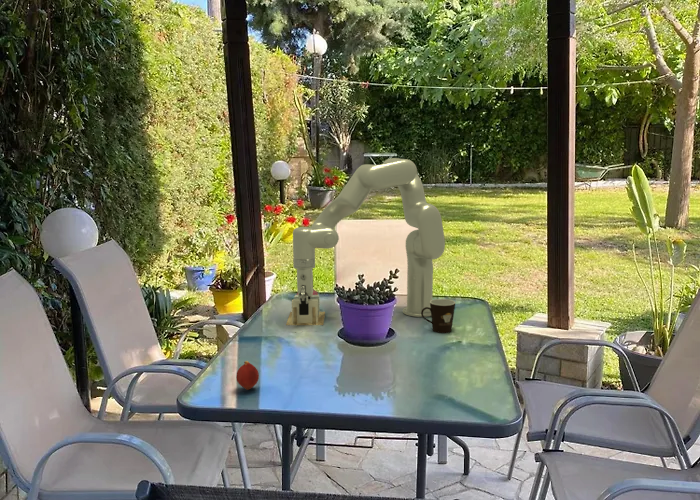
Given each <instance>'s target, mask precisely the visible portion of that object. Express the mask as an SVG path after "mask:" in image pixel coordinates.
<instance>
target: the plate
mask: <svg viewBox="0 0 700 500" xmlns="http://www.w3.org/2000/svg"><path fill="white" fill-rule="evenodd" d="M293 299H300V297H299V296H298V295H296V294H294V297H293ZM310 299H318V315H319V314H320V312H321V310H320V308H321V307H320V306H321V305H320V304H321V303H320V294H318V295H312V297H310Z"/></svg>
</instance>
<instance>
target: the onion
mask: <svg viewBox="0 0 700 500" xmlns="http://www.w3.org/2000/svg"><path fill="white" fill-rule="evenodd" d="M243 363H244V364H242V365H241V366H240V367H239V368H238V370H237V371H236V381H237V383H238V385H239V386H240V387H242V388H244V389H245V390H246V391H247V390H248V391H250V390H251V389H252V388H254V387H255V386H256V385H257V383H258V381H259V377H260V376H259V370H258V368H257V367H256V366H254V365H253V364H252V363H251V362H249V361H248V360H244V362H243Z"/></svg>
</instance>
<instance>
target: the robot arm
mask: <svg viewBox="0 0 700 500" xmlns="http://www.w3.org/2000/svg"><path fill="white" fill-rule="evenodd" d="M395 187H397V188H398V190H399V193H400V198H401V201H402V209H403V215H404V219H405V220H404V221H405V222H406V224H407V225H409V227H412V228H415V229H414V230H412V231H410V232H409V233H408V235H407V236H406V239H405V252H406V259H407V260H406V261H407V270H406V271H407V272H406V273H407V278H406V279H407V281H406V285H407V286H406V306H405V307H404V308H403V309H402V313H403V314H404V315H406V316H410V317H414V318H415V317H416V318H417V317H418V318H423V317H422V315H421V311H422V309H423V308H425V307H429V308H431V307H430V301H431V300H433V290H434V289H433V287H434V286H433V282H434V281H433V278H434V263H433V260H437V259H439V258H440V257H442V255H443V254H444V251H445V250H446V249H445V248H446V241H445V232H444V226H443V225H444V224H443V220H442V215H441V213H440V210H439V209H438V208H437V207H436V206H435V205H434V204H432V203H427V198H426V194H425V190H424V186H423V182H422V180H421V178H420V176H419V175H418V168H417V166H416V164H415V162H414V161H412V160H410V159H406V158H398V157H394V158H393V157H392V158H387V159H385V160H384V161H383V162H382V163H381V164H369V163H368V164H362V165H360V166H359V167H357V168H356V170H355V172H353V174H352V175H351V177H350V179H349V180H348V181H347V183H346V184H345V186H344V187H343V188H342V190H341V191H340V192H339V194H338V196H336V198H334V199H333V200H332V201H331V202H330V203H329V204H328V205H327V206H326V207H325V208H324V209H322V211H321V212H320V213H319V215H318V216H317V217H316V219H315V220H314V222H313V223H312V225H311V226H310V227H308V226H302V227H299V226H298V227H296V228H294V229H293V231H292V253H293V254H292V255H293V258H292V259H293V269H296V287H297V292H298V296H299V297H300V303H299V315H308V314H309V303H308V299H310V297H312V295H313V289H314V274H313V273H314V272H313V269H314V268H316V249H324V250H325V249H328V250H329V249H333V248H335V246H336V245H337V244H338V243H339V239H340V238H339V233H338V232H337V230H335V228H336V226H337V225H338V223H339V222H341V220H343V219H345V218H346V217H348V216H351V215H353V214H354V213H356V212H357V211H358V210H359V209H360V208H361V206H362V205H363V203H364V202H365V200H366V199H367V198H368V196H369V195H370V194H371V191H372V190H373V191H378V190H385V189H391V188H395ZM423 316H424V317H425V318H427V317H431V311H430V310H429V309H425V310H424V311H423Z"/></svg>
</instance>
